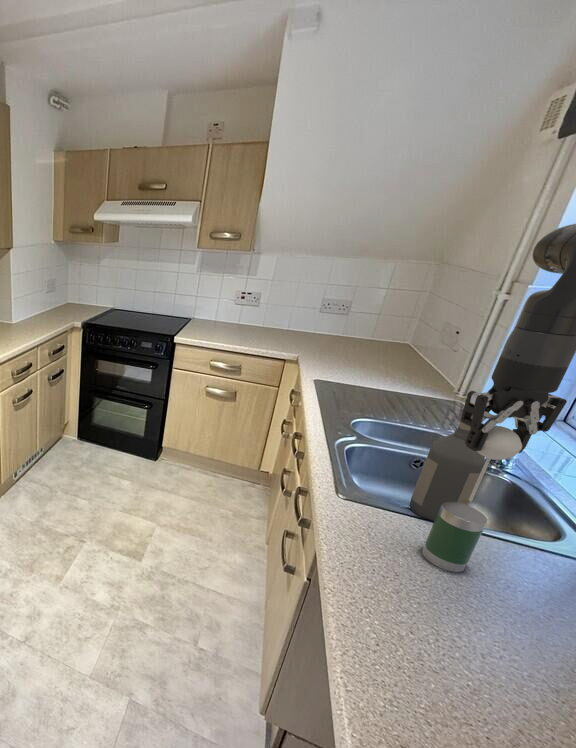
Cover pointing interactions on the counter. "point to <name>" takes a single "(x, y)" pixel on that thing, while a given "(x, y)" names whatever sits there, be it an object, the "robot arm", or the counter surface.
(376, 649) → the counter surface
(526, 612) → the counter surface
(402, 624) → the counter surface
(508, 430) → the lollipop
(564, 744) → the counter surface
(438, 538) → the can
